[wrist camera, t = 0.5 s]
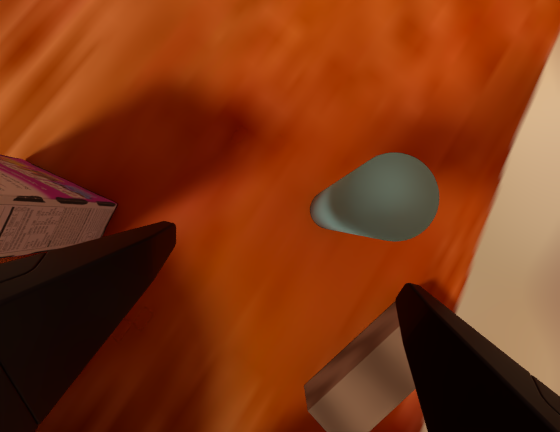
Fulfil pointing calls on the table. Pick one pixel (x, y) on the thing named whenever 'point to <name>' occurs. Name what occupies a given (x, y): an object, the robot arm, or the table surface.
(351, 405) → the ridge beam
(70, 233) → the candy bar box
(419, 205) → the rod
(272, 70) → the table surface
